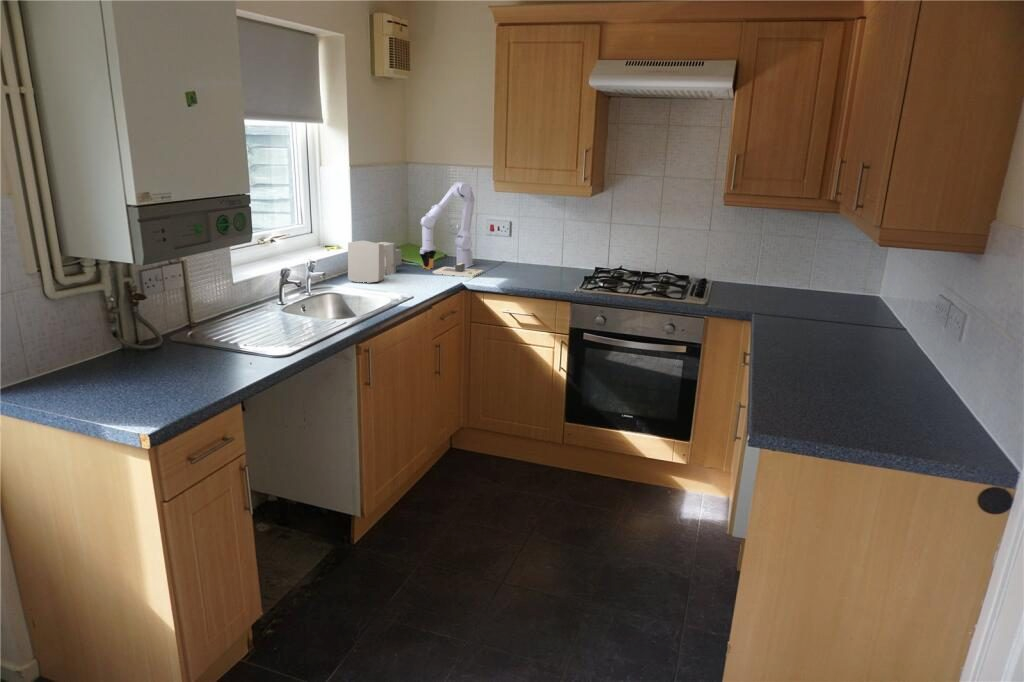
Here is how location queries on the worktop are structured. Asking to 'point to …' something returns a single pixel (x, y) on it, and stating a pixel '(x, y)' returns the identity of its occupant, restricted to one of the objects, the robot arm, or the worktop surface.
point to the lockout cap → (429, 264)
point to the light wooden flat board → (457, 272)
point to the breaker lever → (459, 267)
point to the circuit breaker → (391, 257)
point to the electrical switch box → (365, 261)
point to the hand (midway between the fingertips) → (428, 265)
